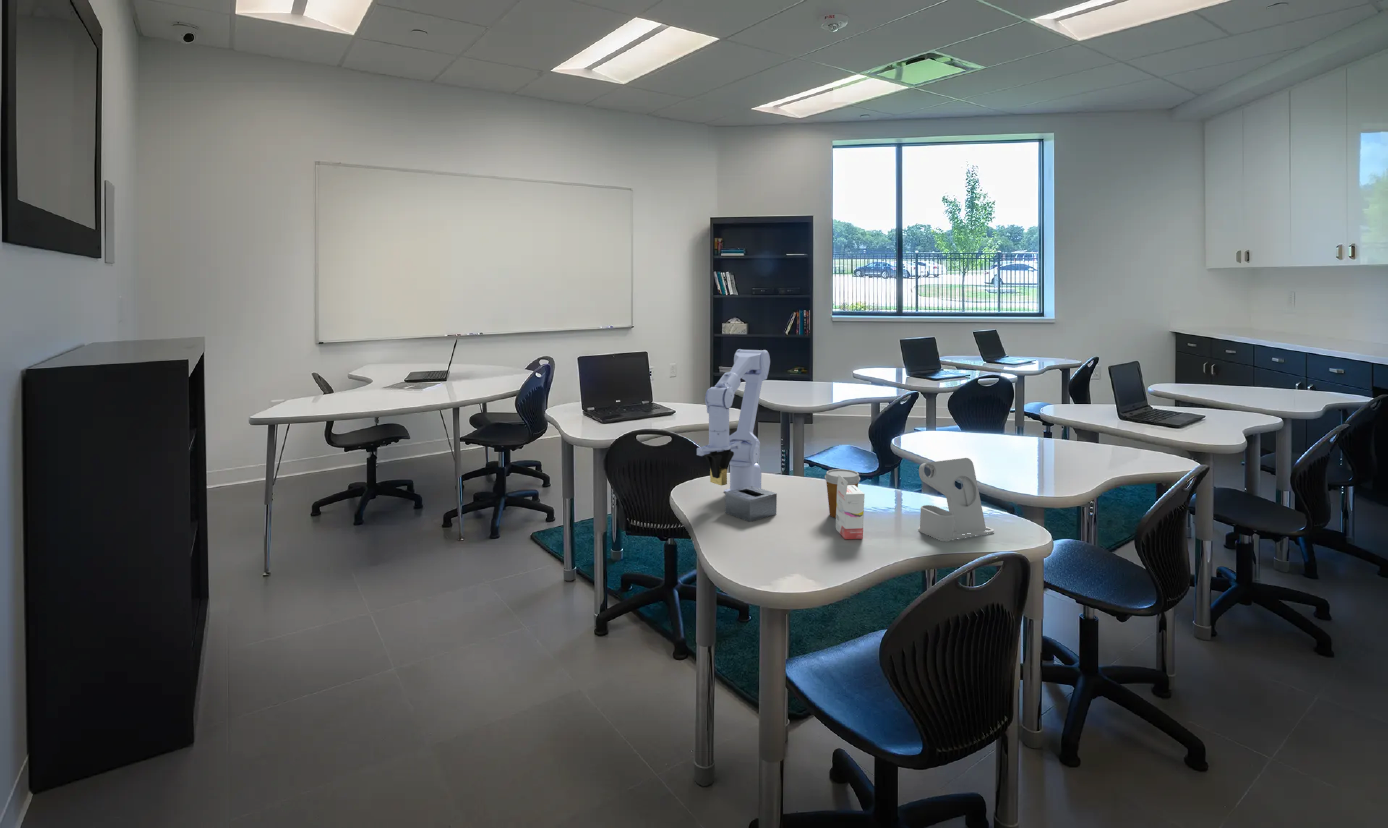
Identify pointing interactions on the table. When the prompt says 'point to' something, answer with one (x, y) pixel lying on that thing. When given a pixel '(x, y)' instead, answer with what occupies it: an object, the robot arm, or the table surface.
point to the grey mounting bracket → (953, 501)
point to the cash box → (750, 503)
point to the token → (722, 477)
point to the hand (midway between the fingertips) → (719, 476)
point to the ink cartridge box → (849, 510)
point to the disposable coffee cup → (832, 482)
